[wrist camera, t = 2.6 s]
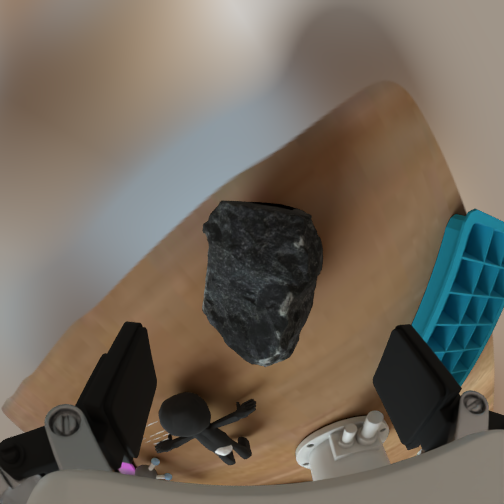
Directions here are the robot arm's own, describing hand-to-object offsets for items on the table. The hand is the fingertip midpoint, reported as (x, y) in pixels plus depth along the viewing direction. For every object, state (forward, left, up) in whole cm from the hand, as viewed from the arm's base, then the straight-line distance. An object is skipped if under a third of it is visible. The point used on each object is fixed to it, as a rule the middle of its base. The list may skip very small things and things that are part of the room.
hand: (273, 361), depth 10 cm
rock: (-4, +2, -8) cm, 9 cm away
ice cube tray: (+7, +20, -11) cm, 24 cm away
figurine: (+13, -11, -8) cm, 19 cm away
